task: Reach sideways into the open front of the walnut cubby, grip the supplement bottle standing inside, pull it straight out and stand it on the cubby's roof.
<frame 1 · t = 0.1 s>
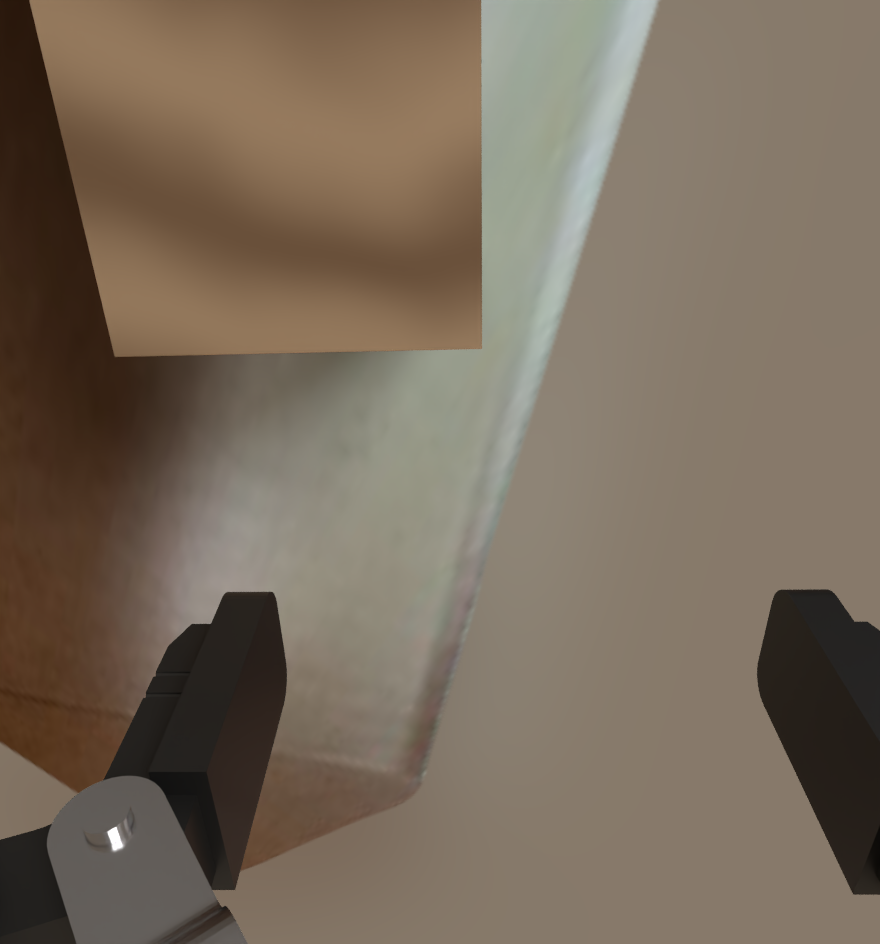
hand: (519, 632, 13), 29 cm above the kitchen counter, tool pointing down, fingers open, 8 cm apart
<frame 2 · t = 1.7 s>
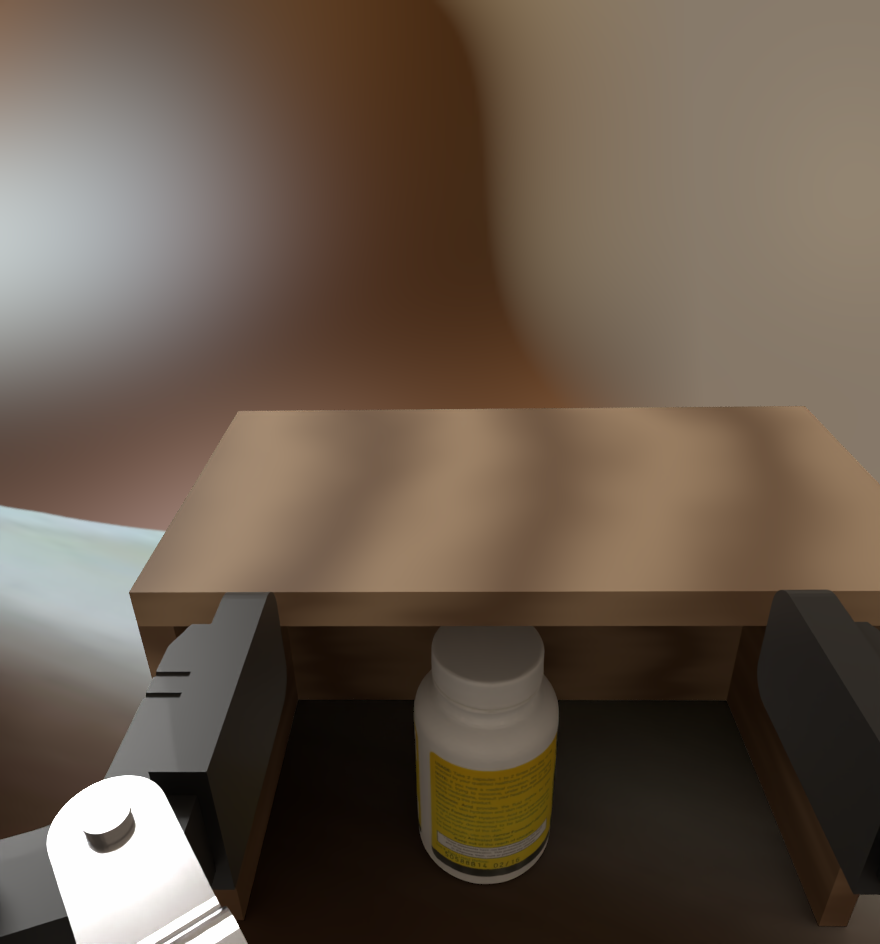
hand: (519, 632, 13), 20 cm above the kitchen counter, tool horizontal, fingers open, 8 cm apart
supplement bottle: (484, 829, 32), on the kitchen counter
cubby: (517, 785, 33), on the kitchen counter
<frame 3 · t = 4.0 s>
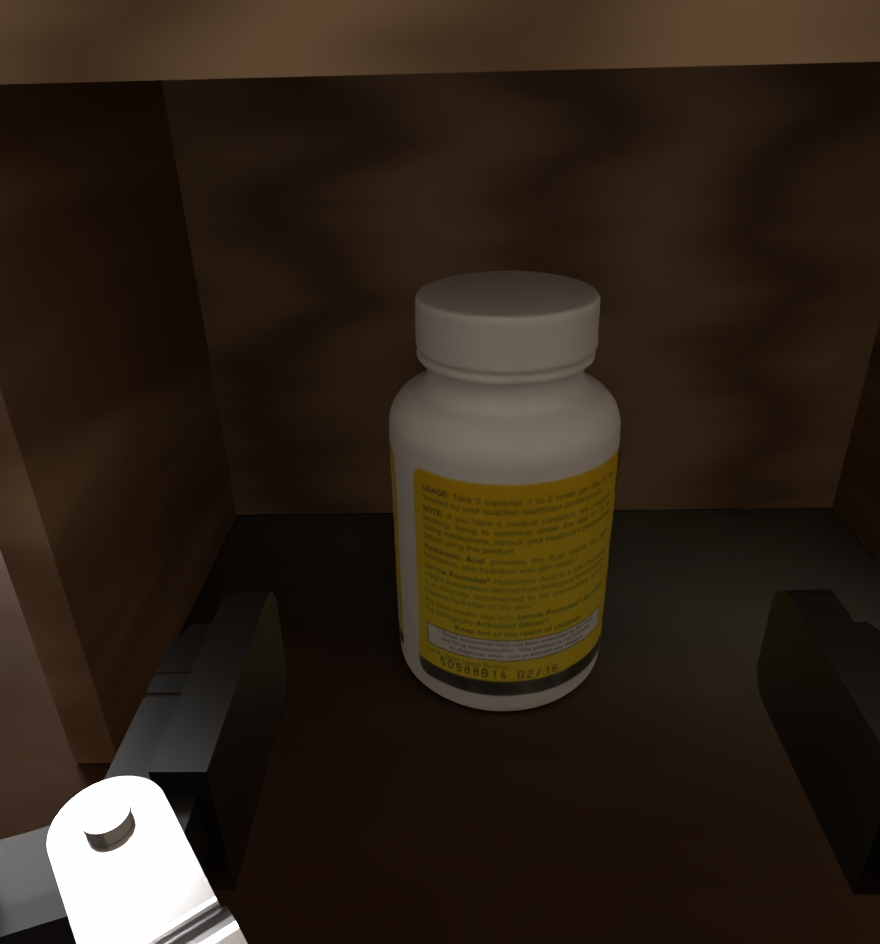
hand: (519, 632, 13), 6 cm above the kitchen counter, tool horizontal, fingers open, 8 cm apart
supplement bottle: (499, 650, 21), on the kitchen counter
cubby: (546, 598, 23), on the kitchen counter
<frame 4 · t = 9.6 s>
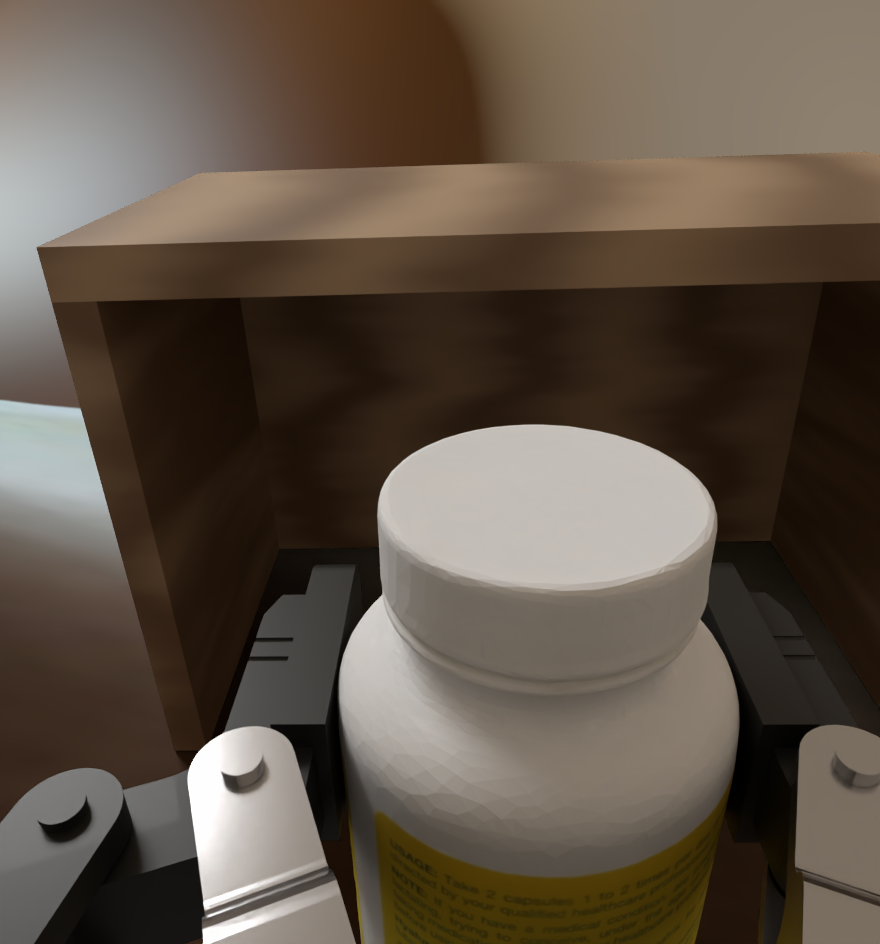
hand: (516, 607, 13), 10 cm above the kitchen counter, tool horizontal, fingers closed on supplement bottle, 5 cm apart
cubby: (532, 620, 29), on the kitchen counter
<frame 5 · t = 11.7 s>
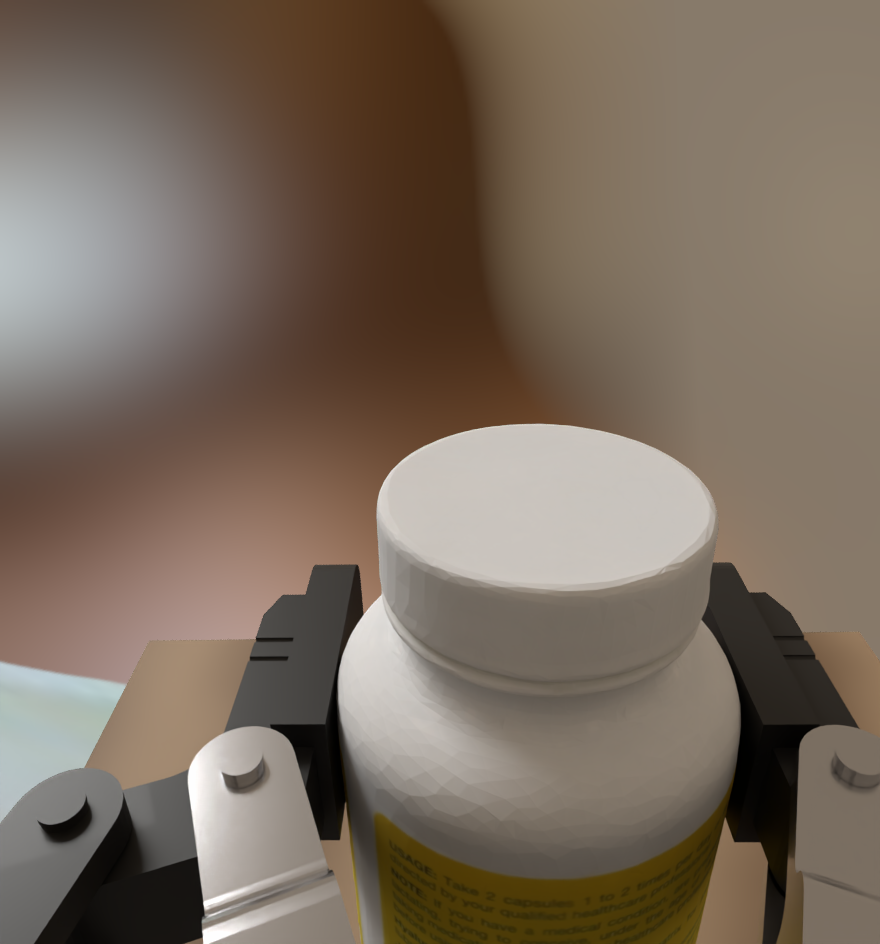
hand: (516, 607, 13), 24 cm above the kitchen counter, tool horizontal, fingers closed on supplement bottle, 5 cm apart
when the fingers open (22 cm above the kitchen counter, at t = 13.2 s): supplement bottle stays where it is, resting on cubby.
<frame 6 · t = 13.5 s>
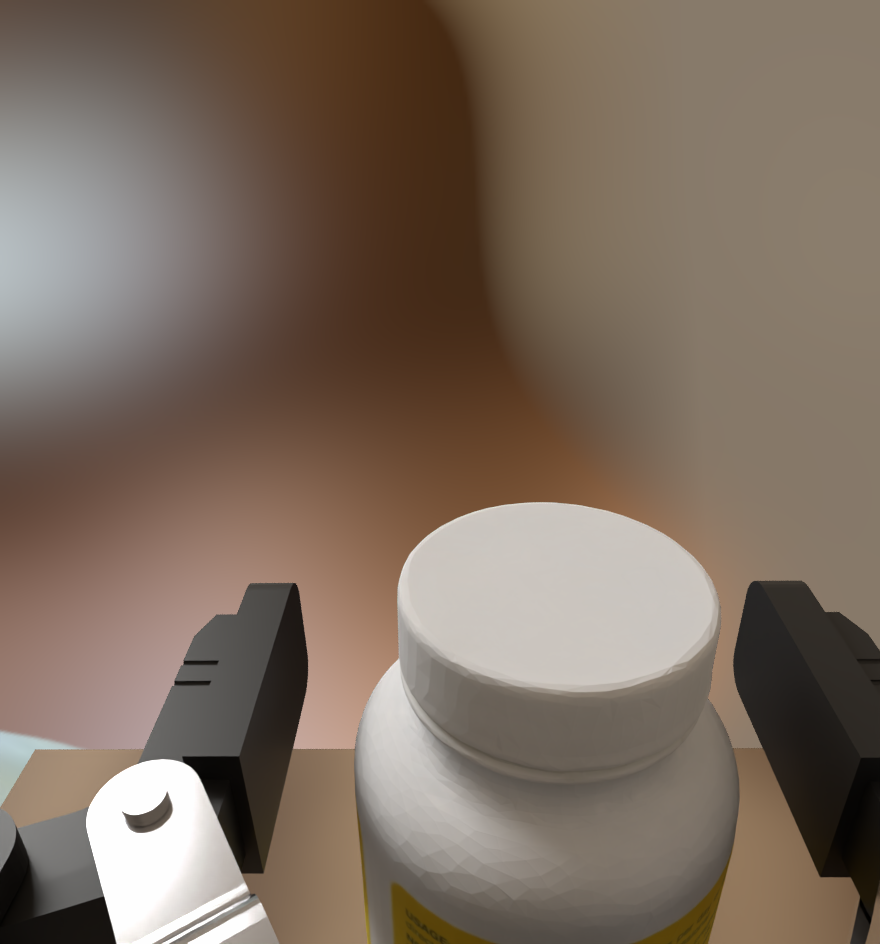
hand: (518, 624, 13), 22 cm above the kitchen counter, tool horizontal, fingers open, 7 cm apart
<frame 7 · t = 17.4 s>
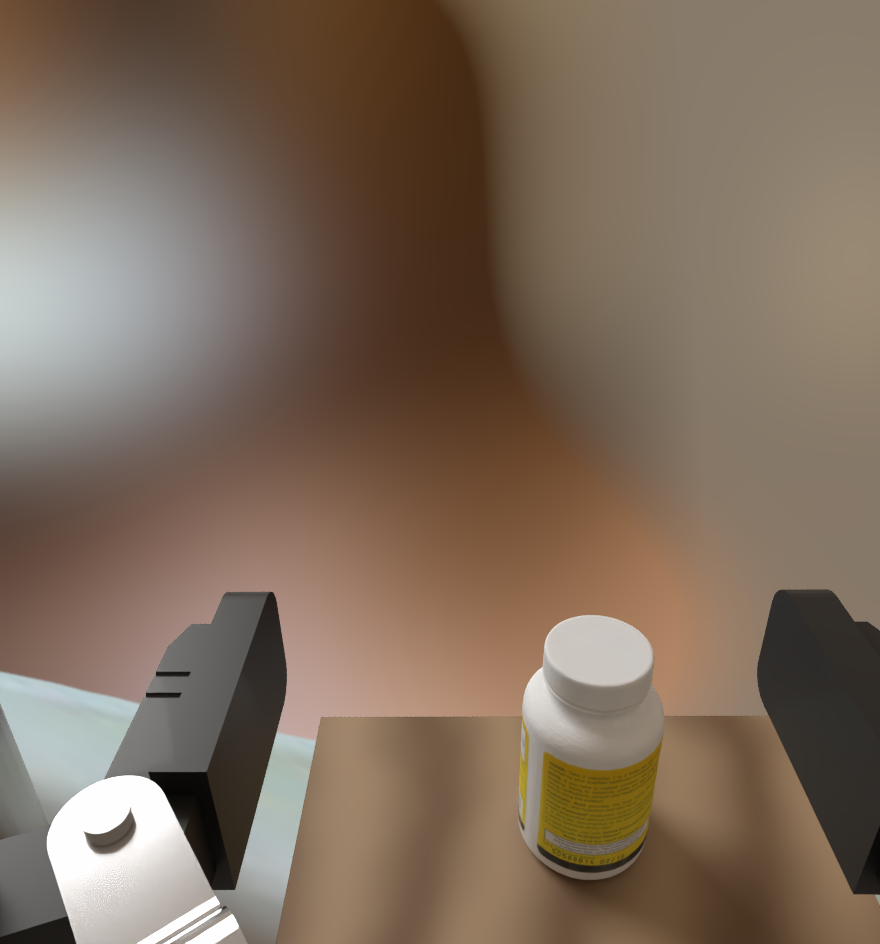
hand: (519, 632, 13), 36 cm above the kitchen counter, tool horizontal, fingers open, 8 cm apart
supplement bottle: (580, 828, 33), point 15 cm above the kitchen counter, touching cubby
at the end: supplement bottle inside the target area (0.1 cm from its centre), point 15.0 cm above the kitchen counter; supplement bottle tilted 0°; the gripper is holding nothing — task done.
